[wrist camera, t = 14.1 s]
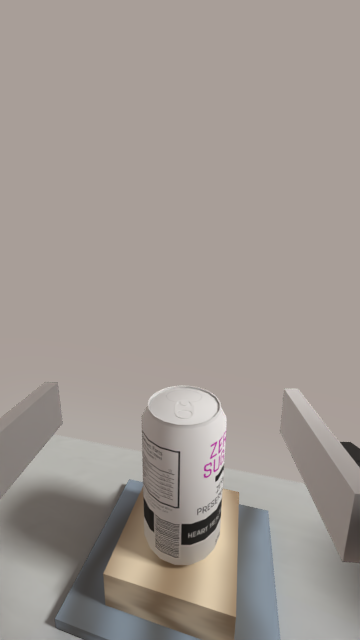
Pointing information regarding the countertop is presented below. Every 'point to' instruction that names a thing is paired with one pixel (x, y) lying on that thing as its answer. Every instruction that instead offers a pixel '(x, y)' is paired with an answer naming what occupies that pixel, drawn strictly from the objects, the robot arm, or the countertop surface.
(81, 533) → the countertop surface
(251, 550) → the base
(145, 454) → the supplement can
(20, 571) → the countertop surface
